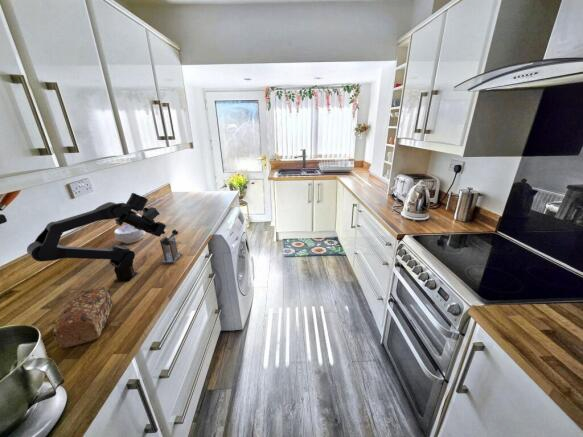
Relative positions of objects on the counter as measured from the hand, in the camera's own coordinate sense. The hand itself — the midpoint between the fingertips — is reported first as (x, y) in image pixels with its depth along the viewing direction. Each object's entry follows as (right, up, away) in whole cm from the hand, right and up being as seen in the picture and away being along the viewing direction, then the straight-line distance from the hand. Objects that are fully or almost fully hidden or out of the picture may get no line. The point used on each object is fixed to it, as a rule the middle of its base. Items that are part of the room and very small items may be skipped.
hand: (164, 232), depth 118 cm
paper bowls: (-32, -6, +24) cm, 41 cm away
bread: (-5, -29, -37) cm, 47 cm away
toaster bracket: (+3, -13, +2) cm, 14 cm away
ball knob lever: (+3, -3, +2) cm, 5 cm away
